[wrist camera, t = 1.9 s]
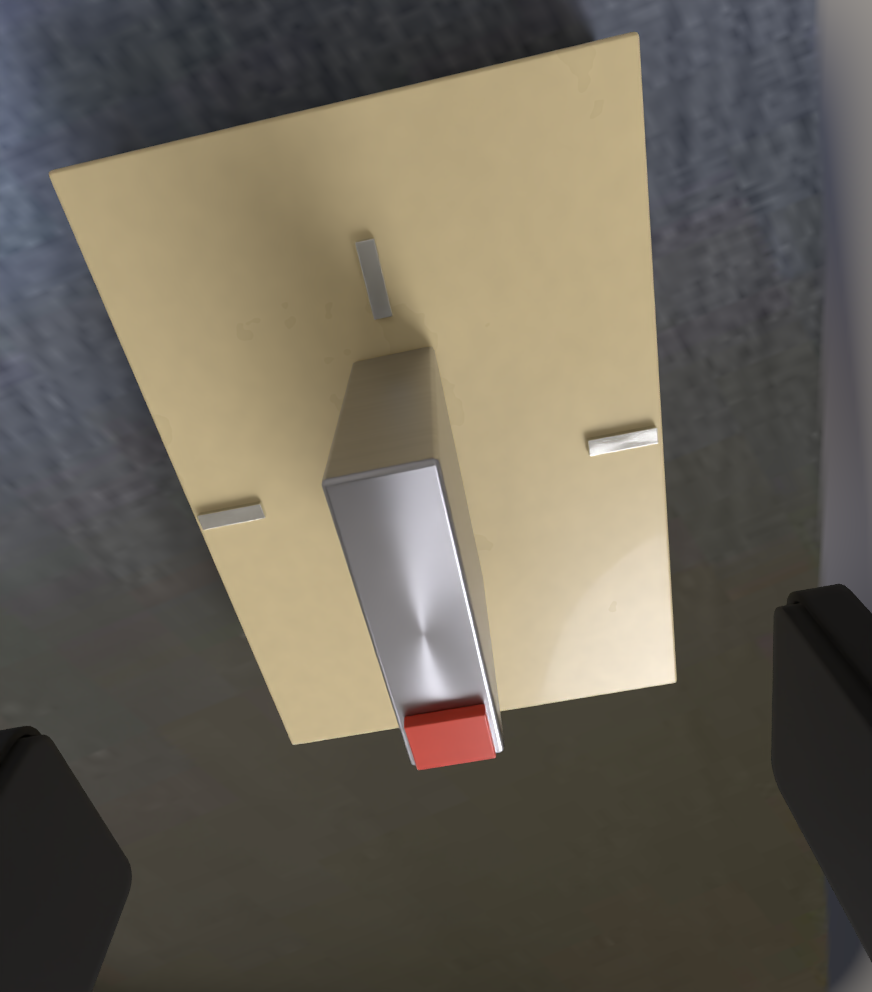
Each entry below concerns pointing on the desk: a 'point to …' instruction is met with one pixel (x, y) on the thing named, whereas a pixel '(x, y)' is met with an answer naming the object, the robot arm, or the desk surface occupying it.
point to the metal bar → (415, 557)
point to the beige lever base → (403, 327)
